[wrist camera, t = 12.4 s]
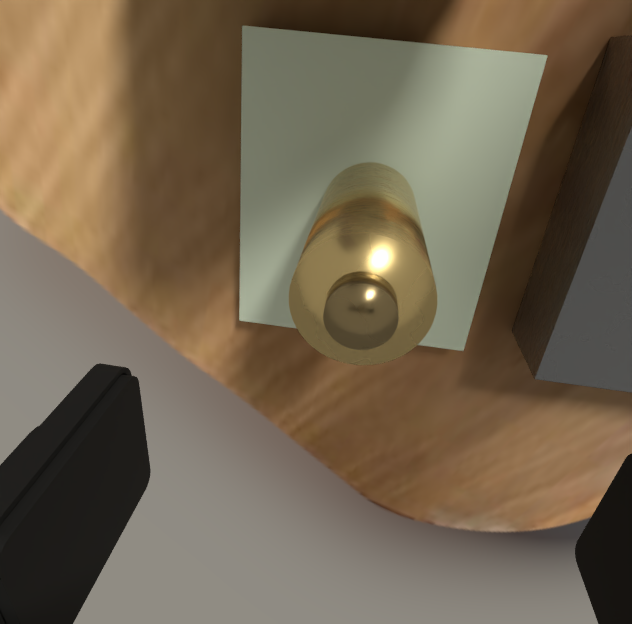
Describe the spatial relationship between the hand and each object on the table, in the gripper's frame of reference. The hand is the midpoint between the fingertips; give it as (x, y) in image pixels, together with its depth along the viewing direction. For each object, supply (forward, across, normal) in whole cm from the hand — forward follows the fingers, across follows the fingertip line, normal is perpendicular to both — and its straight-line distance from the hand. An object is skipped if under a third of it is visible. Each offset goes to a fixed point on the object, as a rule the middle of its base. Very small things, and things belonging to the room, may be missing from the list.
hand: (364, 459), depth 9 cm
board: (+20, +1, +1) cm, 20 cm away
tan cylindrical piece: (+18, 0, +1) cm, 18 cm away
